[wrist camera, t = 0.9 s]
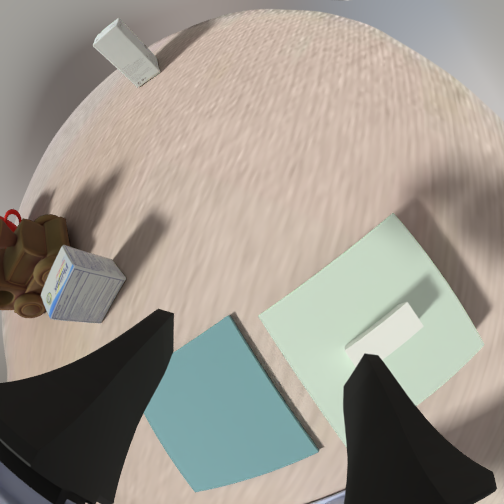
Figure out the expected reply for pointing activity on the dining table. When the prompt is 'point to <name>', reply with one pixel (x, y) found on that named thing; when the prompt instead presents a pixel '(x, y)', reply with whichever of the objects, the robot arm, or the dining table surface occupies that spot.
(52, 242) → the wooden toy train
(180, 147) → the dining table surface
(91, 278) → the medicine box
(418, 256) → the lid
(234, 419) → the mat
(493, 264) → the dining table surface
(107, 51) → the skincare box
